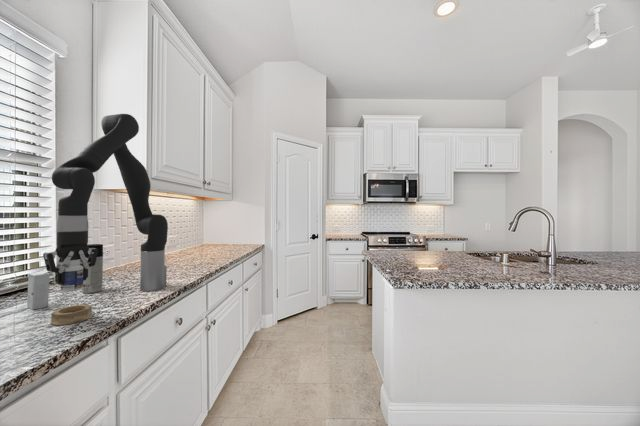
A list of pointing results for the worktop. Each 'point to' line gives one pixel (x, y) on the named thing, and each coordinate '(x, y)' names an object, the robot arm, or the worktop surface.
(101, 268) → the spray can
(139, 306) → the worktop surface
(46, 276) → the skincare box
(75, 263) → the pill bottle
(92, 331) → the worktop surface
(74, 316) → the collar
